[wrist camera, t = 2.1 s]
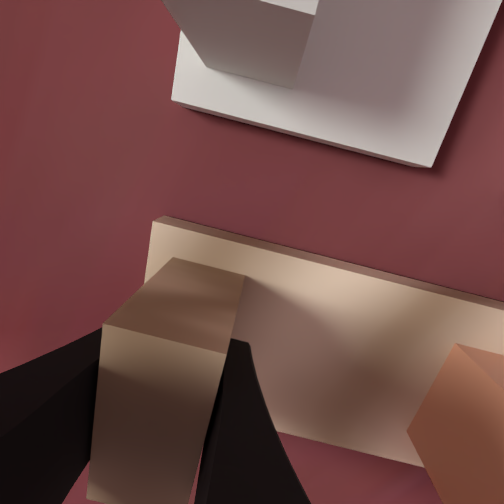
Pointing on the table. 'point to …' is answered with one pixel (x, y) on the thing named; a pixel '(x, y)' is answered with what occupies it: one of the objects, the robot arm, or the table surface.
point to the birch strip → (266, 354)
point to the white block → (333, 68)
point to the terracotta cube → (464, 428)
